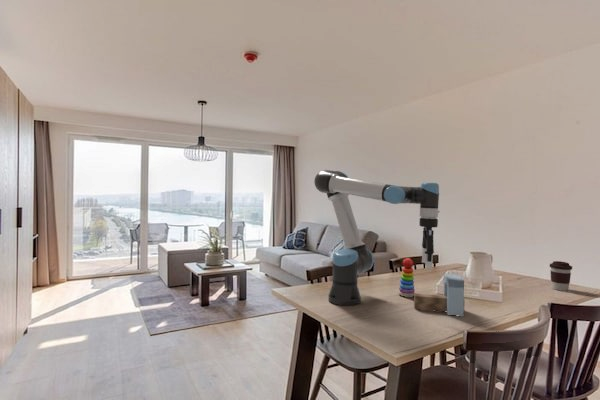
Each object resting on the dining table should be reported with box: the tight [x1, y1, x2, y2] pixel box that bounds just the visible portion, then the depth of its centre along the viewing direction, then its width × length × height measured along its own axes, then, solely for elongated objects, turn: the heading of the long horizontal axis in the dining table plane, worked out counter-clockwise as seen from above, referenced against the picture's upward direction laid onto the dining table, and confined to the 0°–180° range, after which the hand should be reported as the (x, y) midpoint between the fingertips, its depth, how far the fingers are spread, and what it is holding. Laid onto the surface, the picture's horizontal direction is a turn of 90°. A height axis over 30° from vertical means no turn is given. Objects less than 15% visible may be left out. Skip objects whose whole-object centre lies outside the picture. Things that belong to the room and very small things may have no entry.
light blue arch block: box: [442, 273, 465, 317], centre depth 148 cm, size 6×12×15 cm, turn 166°
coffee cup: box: [549, 260, 573, 292], centre depth 188 cm, size 10×10×15 cm
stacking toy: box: [398, 257, 416, 298], centre depth 171 cm, size 8×8×19 cm
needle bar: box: [413, 292, 466, 314], centre depth 150 cm, size 20×4×6 cm, turn 76°
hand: (426, 265), depth 151 cm, fingers open, 13 cm apart
